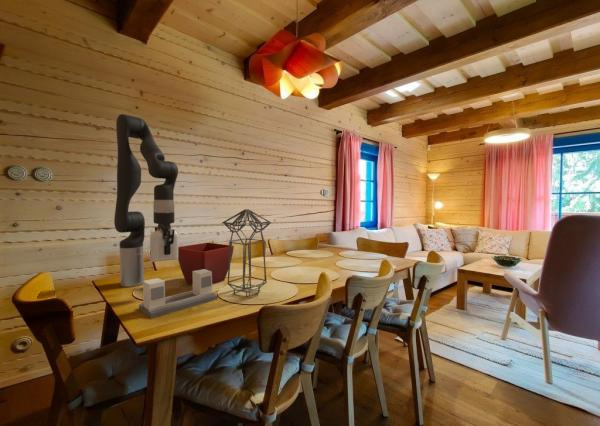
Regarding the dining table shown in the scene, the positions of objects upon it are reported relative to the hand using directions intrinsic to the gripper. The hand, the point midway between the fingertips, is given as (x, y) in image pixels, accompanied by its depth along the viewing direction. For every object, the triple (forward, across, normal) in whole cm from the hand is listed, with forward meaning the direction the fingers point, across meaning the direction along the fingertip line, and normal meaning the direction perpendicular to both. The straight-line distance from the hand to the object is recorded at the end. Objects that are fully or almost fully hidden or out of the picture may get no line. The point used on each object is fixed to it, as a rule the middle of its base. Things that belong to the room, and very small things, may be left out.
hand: (164, 253), depth 113 cm
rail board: (+17, +13, 0) cm, 22 cm away
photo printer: (+3, 0, 0) cm, 3 cm away
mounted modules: (+16, +14, 0) cm, 21 cm away
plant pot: (+17, -6, +21) cm, 28 cm away
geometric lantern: (+17, +22, +24) cm, 37 cm away
